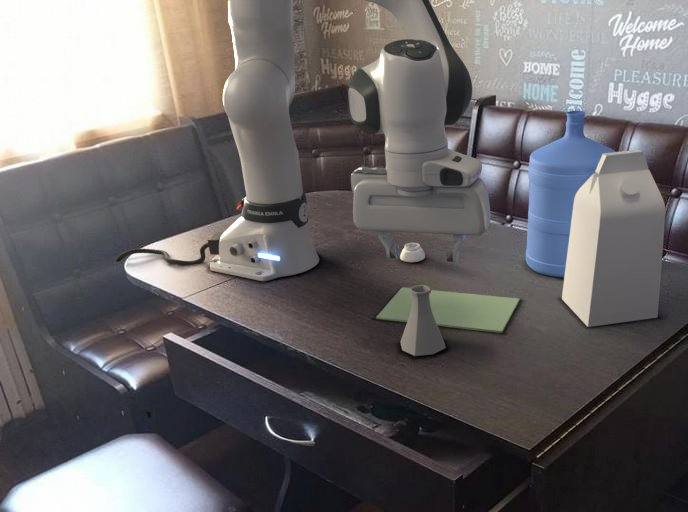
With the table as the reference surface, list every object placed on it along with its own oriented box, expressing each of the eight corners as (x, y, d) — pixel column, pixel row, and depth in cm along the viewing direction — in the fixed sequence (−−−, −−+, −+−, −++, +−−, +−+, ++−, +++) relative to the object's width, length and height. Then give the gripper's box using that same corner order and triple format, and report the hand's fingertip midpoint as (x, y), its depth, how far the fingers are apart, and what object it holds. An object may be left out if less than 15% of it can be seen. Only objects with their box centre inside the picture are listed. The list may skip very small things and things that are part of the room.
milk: (626, 290, 136) (642, 140, 123) (657, 317, 126) (678, 157, 113) (561, 298, 135) (570, 147, 121) (587, 327, 125) (600, 166, 111)
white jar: (425, 254, 157) (400, 255, 157) (424, 240, 156) (399, 241, 156) (425, 263, 153) (400, 264, 153) (424, 249, 151) (399, 250, 152)
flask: (393, 342, 124) (389, 285, 119) (433, 332, 127) (431, 275, 122) (412, 361, 119) (408, 302, 113) (453, 350, 121) (452, 291, 116)
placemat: (376, 319, 132) (376, 316, 132) (402, 289, 143) (402, 287, 142) (502, 333, 125) (502, 331, 125) (519, 300, 135) (519, 298, 135)
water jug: (625, 271, 143) (641, 115, 129) (548, 285, 140) (555, 126, 126) (583, 244, 156) (593, 99, 142) (512, 256, 153) (515, 110, 139)
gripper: (341, 171, 109) (351, 263, 116) (481, 174, 102) (483, 271, 109) (357, 159, 114) (366, 247, 121) (492, 161, 107) (493, 255, 114)
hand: (422, 259), depth 115 cm, fingers open, 8 cm apart
